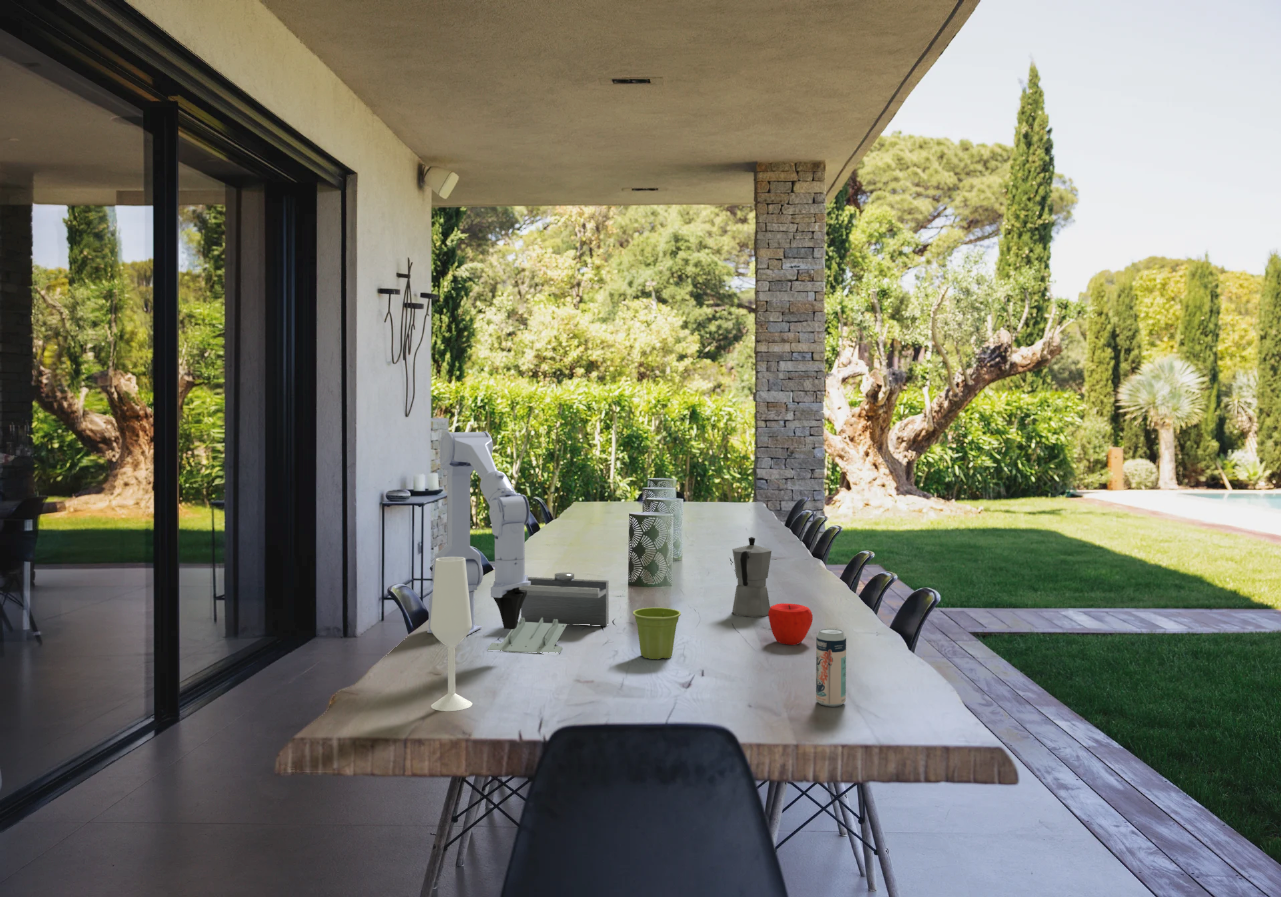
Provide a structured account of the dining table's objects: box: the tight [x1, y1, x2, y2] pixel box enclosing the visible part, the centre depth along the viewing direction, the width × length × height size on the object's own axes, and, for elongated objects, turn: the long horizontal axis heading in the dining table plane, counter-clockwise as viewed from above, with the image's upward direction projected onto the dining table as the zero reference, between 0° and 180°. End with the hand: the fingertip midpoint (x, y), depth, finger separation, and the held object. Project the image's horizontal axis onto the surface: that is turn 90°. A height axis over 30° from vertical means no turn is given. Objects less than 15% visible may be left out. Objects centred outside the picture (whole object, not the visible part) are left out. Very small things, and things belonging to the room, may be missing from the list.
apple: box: [767, 602, 814, 646], centre depth 210 cm, size 9×9×8 cm
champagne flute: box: [430, 557, 473, 712], centre depth 166 cm, size 7×7×24 cm
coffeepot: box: [732, 536, 772, 618], centre depth 239 cm, size 15×9×18 cm, turn 160°
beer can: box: [815, 628, 847, 708], centre depth 167 cm, size 5×5×12 cm
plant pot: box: [632, 607, 682, 660], centre depth 199 cm, size 9×9×9 cm
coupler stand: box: [519, 572, 610, 627], centre depth 226 cm, size 20×9×11 cm, turn 76°
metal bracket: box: [487, 616, 568, 653], centre depth 208 cm, size 14×6×15 cm
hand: (510, 628), depth 197 cm, fingers closed
